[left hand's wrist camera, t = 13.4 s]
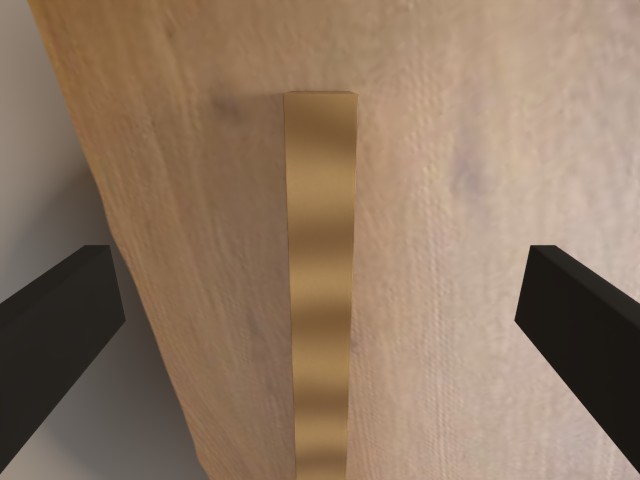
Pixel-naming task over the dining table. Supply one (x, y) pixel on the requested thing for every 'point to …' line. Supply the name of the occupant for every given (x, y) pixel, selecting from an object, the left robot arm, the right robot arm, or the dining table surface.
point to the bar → (320, 272)
